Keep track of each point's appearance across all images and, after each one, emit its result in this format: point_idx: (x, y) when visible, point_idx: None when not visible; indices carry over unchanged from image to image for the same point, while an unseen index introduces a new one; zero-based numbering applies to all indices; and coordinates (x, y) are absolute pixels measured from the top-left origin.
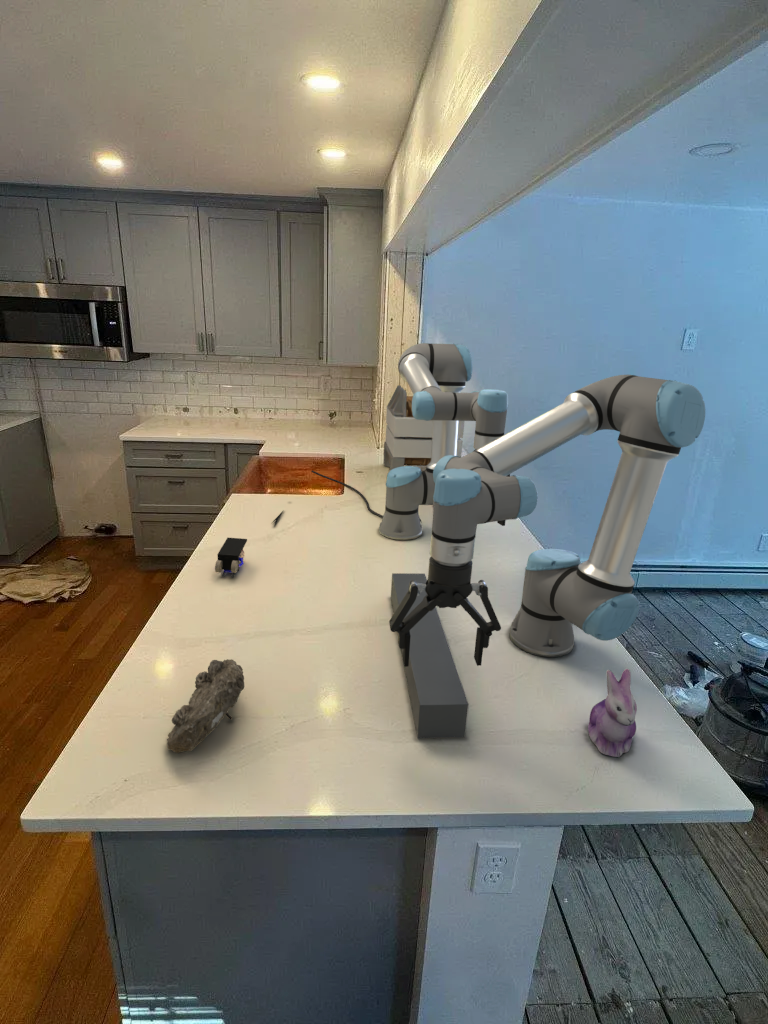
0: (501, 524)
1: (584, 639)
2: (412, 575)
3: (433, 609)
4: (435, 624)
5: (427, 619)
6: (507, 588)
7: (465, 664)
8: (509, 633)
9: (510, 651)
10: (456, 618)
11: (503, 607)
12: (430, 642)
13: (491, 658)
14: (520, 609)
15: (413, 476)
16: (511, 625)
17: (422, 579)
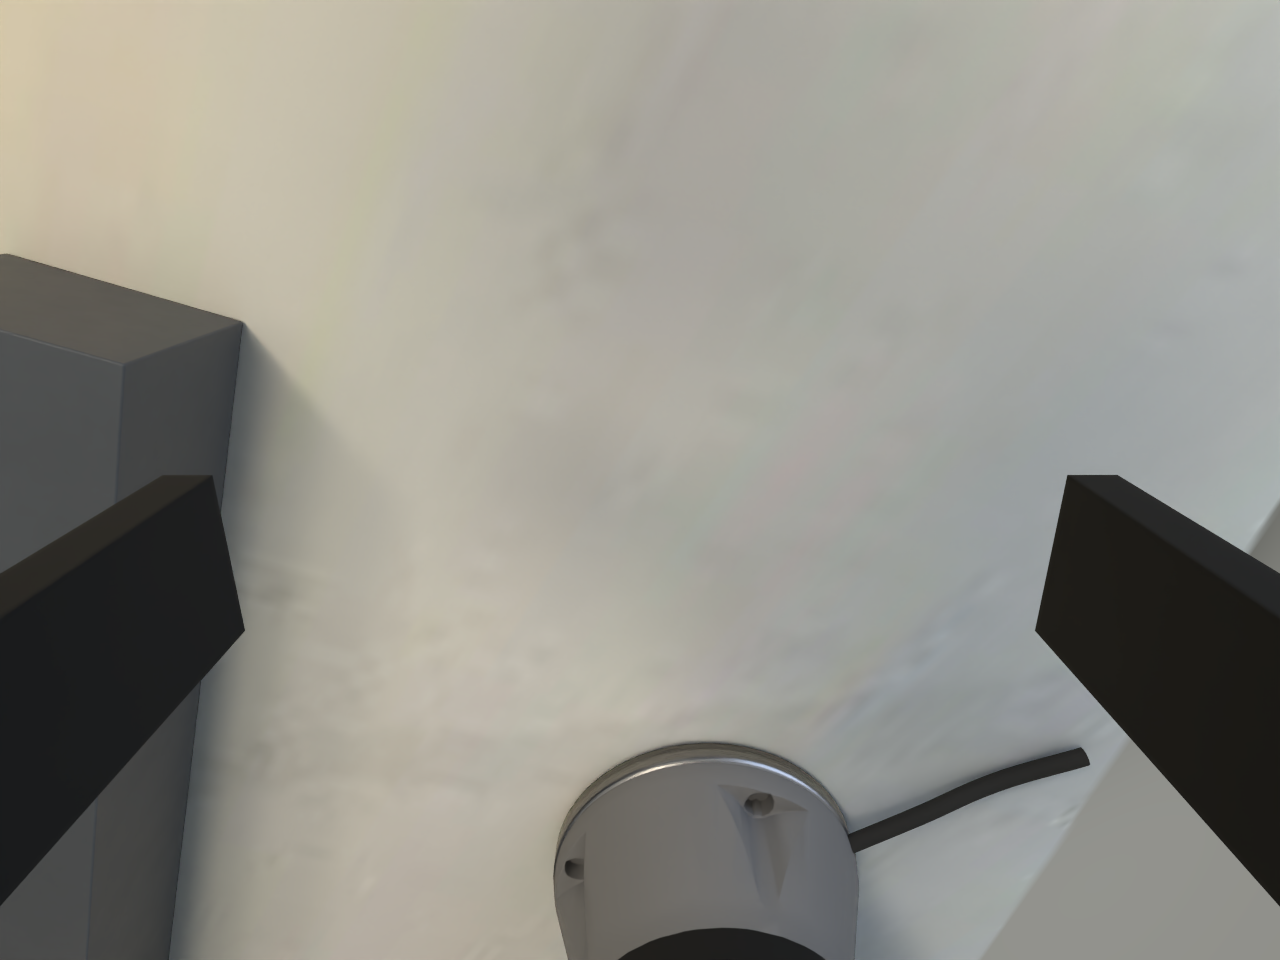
0: (1048, 604)
1: (899, 902)
2: (2, 370)
3: (73, 832)
4: (51, 947)
5: (13, 903)
6: (904, 368)
7: (276, 902)
8: (575, 805)
9: (512, 885)
10: (378, 599)
11: (713, 573)
12: None
13: (404, 899)
14: (596, 956)
15: None
16: (579, 838)
17: (80, 462)
